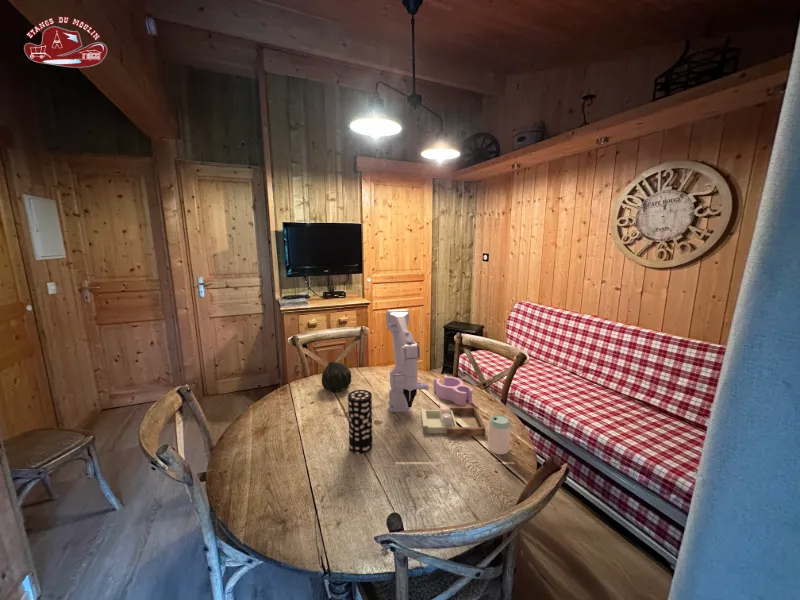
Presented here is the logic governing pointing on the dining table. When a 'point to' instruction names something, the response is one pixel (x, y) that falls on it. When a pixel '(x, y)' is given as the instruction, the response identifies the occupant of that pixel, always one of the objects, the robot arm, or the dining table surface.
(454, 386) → the clip
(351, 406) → the spotted tube
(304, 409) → the dining table surface
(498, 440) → the can
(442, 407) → the pale pink cylinder
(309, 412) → the dining table surface
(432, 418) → the tray
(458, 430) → the rack
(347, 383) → the squash
